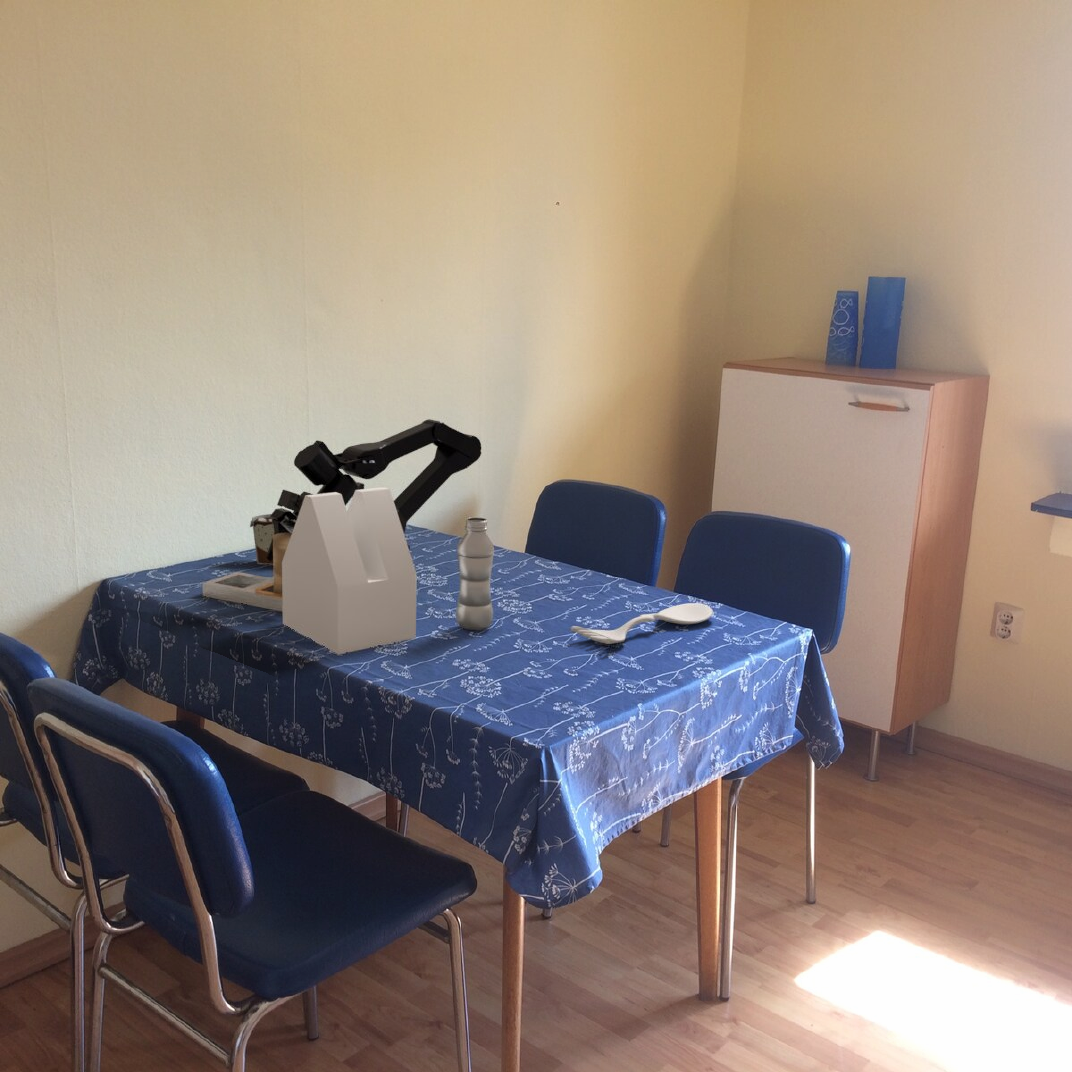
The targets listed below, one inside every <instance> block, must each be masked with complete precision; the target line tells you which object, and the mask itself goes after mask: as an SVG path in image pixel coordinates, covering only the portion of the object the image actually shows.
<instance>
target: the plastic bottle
mask: <svg viewBox="0 0 1072 1072" xmlns="http://www.w3.org/2000/svg"><path fill="white" fill-rule="evenodd" d="M465 519H466V520H465V526H464V527H465V528H464V530H465V531H466V532H465V534H464V535H463V536H462V537H461V539H460V540H459V541H458V543H457V547H456V553H457V561H458V562H457V563H458V569H459V590H458V591H459V592H458V599H457V600H458V602H457V604H456V609H455V618H456V622H457V625H458V626H459V627H460V628H462V629H465V630H471V631H472V630H473V631H477V630H478V631H480V630H485V629H488V628H489V627H490V626H491V624H492V623H493V619H494V618H493V617H494V609H493V603H492V596H491V576H492V575H491V574H492V568H493V561H494V560H493V559H494V555H495V547H494V544H493V541H492V540H491V538H490V536H488V534H487V531H488V530H489V529H488V519H487V518H485V517H480V516H479V517H476V516H475V517H467V518H465Z"/></svg>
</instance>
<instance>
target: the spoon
mask: <svg viewBox="0 0 1072 1072" xmlns="http://www.w3.org/2000/svg"><path fill="white" fill-rule="evenodd" d="M713 614H714V611H713V609H712V608H711V607H710V606H709V605H708V604H707V605H706V604H704V603H698V602H696V603H695V602H688V603H682V604H677V605H673V606H670V607H668V608H665V609H662V610H659V612H658V611H657V613H648V614H646V613H644V614H640V615H639V616H637V617H634V618H632V619H630V620H629V621H627V622H626V623H624V624H623V625H621V626H620V627H618V628H616V629H612V630H604V629H589V628H584V627H581V626H576V625H573V626H571V627H570V631H571V632H573V633H577V634H578V635H580V636H583V637H584V638H587V639H590V640H592V641H594V642H598V643H600V644H601V643H602V644H606V645H612V644H619V643H622V642H624V641H625V640H626V637H627V634H628V632H630V630H631V629H632V628H633V627H635V626H636V625H637V624H642V623H647V622H654V621H655V620H661V621H665V622H668V623H672V624H677V625H683V626H684V625H695V624H698V623H701V622H705V621H707V620H708V619H710V618H711V617H712V616H713Z"/></svg>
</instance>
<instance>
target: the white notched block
mask: <svg viewBox="0 0 1072 1072" xmlns="http://www.w3.org/2000/svg"><path fill="white" fill-rule="evenodd" d="M407 544H408V542H407V539H406V535H405V533H404V532H403V529H402V526H401V523H400V520H399V516H398V513H397V510H396V507H395V504H394V498H393V494H392V492H391V488H388V487H385V486H383V487H382V486H381V487H371V488H364V489H361V490H355V492H354V495H353V497H352V498H351V499H350V502H349V506H348V509H347V508H346V506H345V504H344V501H343V497H342V494H340V493H337V492H333V493H323V494H317V493H315V494H314V495H305V498H304V501H303V503H302V506H301V509H300V512H299V515H298V518H297V521H296V524H295V526H294V529H293V532H292V535H291V538H290V541H289V544H288V546H287V549H286V552H285V555H284V558H283V561H282V599H283V612H282V625H283V624H284V625H283V626H285V625H286V626H288V627H290V628H291V630H292V629H294V630H296V631H298V632H300V633H301V634H303V635H304V636H303V635H302V636H303V637H305V636H306V637H305V638H307V637H309V638H311V639H312V640H313V642H314V641H315V643H316V644H318V645H319V646H322V645H323V646H325V647H326V648H325V647H324V648H325V649H327V648H328V649H327V650H329V649H330V650H329V651H331V652H333V653H334V652H335V654H336V653H337V654H336V655H342V654H347V653H346V652H348V653H352V652H357V651H361V650H366V649H370V647H371V648H375V647H374V646H376V647H379V646H378V645H381V646H384V645H389V644H394V642H395V643H399V642H404V641H408V640H412V639H413V638H414V639H417V637H416V636H417V594H418V593H417V582H418V581H417V577H418V576H417V575H418V574H417V571H416V567H415V564H414V561H413V558H412V554H411V552H410V550H409V548H408V545H409V544H408V545H407ZM286 626H285V627H286ZM288 627H287V628H288ZM290 628H289V629H290ZM294 630H293V631H294ZM296 631H295V632H296ZM298 632H297V633H298ZM301 634H300V635H301ZM309 638H308V639H309ZM312 640H311V641H312ZM323 646H322V647H323Z"/></svg>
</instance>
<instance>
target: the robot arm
mask: <svg viewBox="0 0 1072 1072" xmlns="http://www.w3.org/2000/svg"><path fill="white" fill-rule="evenodd" d="M432 444H433V445H434V446H435V447H436V450H435V454H434V458H433V459H432V461H431V462H430V463H429V464H427V466H426V467H425V468H424V469H423V470H422V471H421V472H420V473H419V474H418V475H417V476H416V477H415V478H414V479H413V481H411V482H410V484H408V485H407V487H405V489H403V490H402V492H401V493H400V494H399V495H398V496H397V497H396V498H395V499H393V501H394V504H395V507H396V510H397V513H398V516H399V520H400V523H401V526H402V529H403V532H404V534H406V533H405V531H406V529H407V524H408V522H409V520H410V519H412V517H413V516H414V515H415V514H416V513H417V512H418V511H419V510H420V509H421V508H422V507H423V506H424V505H425V503H426V502H427V501H428V500H429V499H431V497H432V496H434V494H435V493H436V492H437V491H438V490H439V489H440V488H441V487H442V486H443V485H444V484H445V482H446V481H447V480H448V479H449V478H450V477H452V476H453V475H454V474H457V473H458V472H461V471H464V470H466V469H468V468H469V467H471V466H472V465H473V464H474V463H476V462H477V461H478V460H479V458H480V457H481V456H482V444H481V441H480V438H478V437H477V436H476V435H472V434H466V433H463V432H461V431H459V430H458V429H456V428H455V429H454V428H453V427H450V426H449V425H447V424H445V423H444V422H443V421H440V420H436V419H435V420H434V419H425V420H424V421H422V422H421V423H419V424H417V425H414V426H412V427H409V428H407V429H406V430H403V431H401V432H398V433H396V434H394V435H391V436H388V437H387V438H385V439H383V440H380V441H376V442H364V443H358V444H355V445H351V446H348V447H346V448H344V450H342V452H340V453H336V454H334V453H333V452H332V451H331V450H330V449H329V447H328V445H327V444H326V443H325V442H324V441H322V440H316V441H315V442H313V444H310V445H307V446H306V447H304V448H303V449H302V450H300V451H298V452H297V454H296V455H295V458H294V460H293V465H294V466H295V467H296V468H297V469H298V471H300V472H301V473H302V475H303V476H305V478H307V480H309V481H310V483H312V484H313V485H314V486H321V488H319V490H318V491H317V493H316V494H323V493H333V492H337V493H340V494H342V497H343V501H344V504H345V507H346V506H347V505H348V503H350V502H351V500H352V498H353V495H354V492H355V490H361V489H365V483H363V482H359V481H356V480H355V479H354V478H353V477H357V478H360V479H363V480H371V479H374V478H375V477H377V476H378V475H380V474H381V473H382V472H384V471H385V470H386V469H387V467H388V466H389V465H390V464H391V463H392V462H394V461H395V460H398V459H400V458H402V457H404V456H407V455H409V454H411V453H413V452H415V451H419V449H422V448H426V446H429V445H432ZM341 470H342V471H343V472H344V473H345V474H344V473H343V472H342V471H341ZM352 476H353V477H352ZM280 493H281V494H280V496H279V498H278V502H277V504H276V506H278V507H280V508H275V509H274V511H273V512H272V513H270V514H271V515H270V518H271V519H272V524H273V525H274V535H275V534H278V533H292V532H293V529H294V526H295V524H296V521H297V517H298V515H299V512H300V509H301V506H302V503H303V501H304V498H305V495H314V494H313V493H310V492H308V491H302V493H300V494H298V493H295V492H293V491H290V490H288V489H282V491H281V492H280ZM282 507H284V508H282ZM290 510H291V511H290ZM292 511H293V512H292ZM407 545H408V548H409V551H410V550H411V547H410V545H409V544H408V543H407ZM266 559H267V560H268V561H271V560H273V539H272V542H271V544H270V547H269V550H268V552H267V555H266Z"/></svg>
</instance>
